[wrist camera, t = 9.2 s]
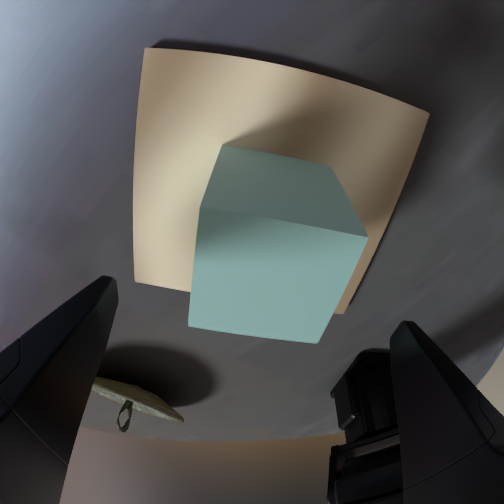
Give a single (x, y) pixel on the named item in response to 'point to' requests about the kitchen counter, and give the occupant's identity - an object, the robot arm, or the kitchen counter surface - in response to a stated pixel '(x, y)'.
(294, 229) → the teal block
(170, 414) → the lid
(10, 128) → the kitchen counter surface
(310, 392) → the kitchen counter surface
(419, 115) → the pad
